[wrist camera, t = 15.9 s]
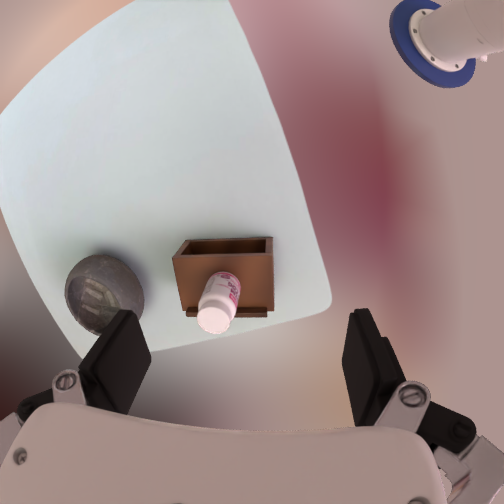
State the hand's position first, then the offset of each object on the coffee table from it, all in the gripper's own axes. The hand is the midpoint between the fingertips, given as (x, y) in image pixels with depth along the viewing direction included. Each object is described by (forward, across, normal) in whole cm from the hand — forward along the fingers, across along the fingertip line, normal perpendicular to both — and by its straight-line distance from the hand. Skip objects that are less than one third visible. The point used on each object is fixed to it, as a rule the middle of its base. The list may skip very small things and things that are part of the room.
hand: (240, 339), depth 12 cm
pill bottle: (+26, +6, +12) cm, 29 cm away
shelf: (+32, +6, +12) cm, 35 cm away
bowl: (+32, +28, +15) cm, 45 cm away
